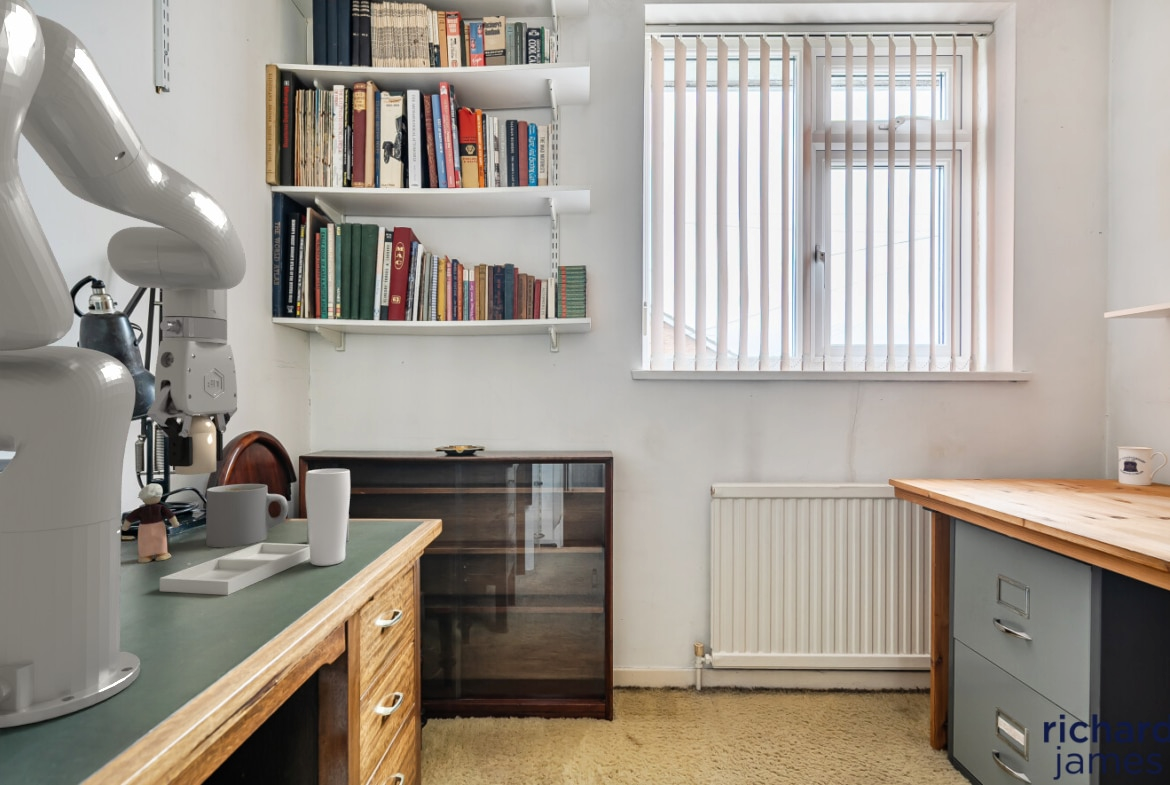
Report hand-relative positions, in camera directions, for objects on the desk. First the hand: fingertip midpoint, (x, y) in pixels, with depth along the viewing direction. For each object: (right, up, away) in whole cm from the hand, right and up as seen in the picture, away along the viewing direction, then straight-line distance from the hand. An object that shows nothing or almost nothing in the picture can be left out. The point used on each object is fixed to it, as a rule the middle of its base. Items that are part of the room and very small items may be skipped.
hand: (196, 461), depth 82 cm
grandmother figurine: (-18, -18, +15) cm, 30 cm away
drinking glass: (+12, -18, +14) cm, 26 cm away
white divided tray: (+2, -18, +9) cm, 20 cm away
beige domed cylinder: (0, -1, 0) cm, 1 cm away
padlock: (+6, -19, +28) cm, 34 cm away
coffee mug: (-10, -19, +29) cm, 36 cm away
